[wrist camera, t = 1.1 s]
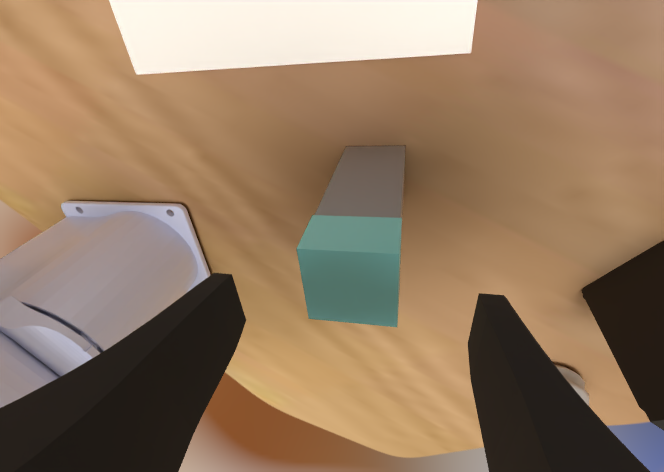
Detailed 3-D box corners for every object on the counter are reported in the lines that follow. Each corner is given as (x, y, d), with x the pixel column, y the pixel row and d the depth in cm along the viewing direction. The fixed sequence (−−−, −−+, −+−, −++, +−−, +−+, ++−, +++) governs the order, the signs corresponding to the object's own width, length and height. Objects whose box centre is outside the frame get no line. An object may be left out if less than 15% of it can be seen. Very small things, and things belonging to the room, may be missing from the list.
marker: (348, 198, 20) (308, 318, 12) (344, 145, 18) (296, 248, 11) (404, 199, 19) (397, 327, 12) (406, 144, 17) (399, 254, 10)
